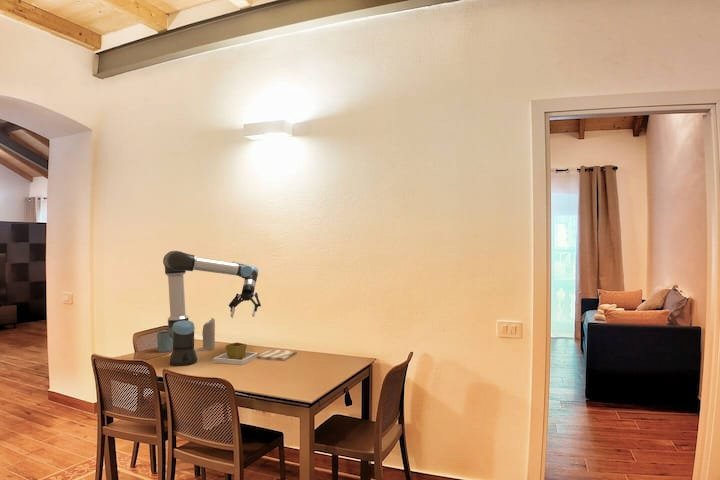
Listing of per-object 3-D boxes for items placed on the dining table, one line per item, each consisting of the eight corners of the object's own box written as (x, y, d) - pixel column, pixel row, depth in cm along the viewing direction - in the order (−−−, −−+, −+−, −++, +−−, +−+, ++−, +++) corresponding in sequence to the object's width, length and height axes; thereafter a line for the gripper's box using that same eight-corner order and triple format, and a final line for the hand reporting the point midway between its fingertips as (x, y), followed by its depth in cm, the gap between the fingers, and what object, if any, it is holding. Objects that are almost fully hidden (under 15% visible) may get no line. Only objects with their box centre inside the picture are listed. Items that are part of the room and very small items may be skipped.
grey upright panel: (192, 349, 290) (192, 318, 290) (214, 347, 294) (214, 317, 294) (191, 351, 283) (191, 320, 283) (214, 350, 287) (214, 319, 288)
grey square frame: (212, 362, 257) (212, 358, 257) (230, 354, 275) (230, 350, 275) (242, 364, 252) (242, 360, 252) (258, 356, 270) (258, 352, 270)
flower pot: (246, 359, 265) (247, 344, 265) (235, 362, 258) (235, 346, 258) (236, 357, 270) (236, 342, 270) (225, 360, 262) (225, 345, 262)
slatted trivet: (257, 358, 266) (257, 356, 266) (270, 351, 283) (270, 349, 283) (284, 360, 261) (284, 358, 261) (296, 353, 278) (296, 351, 278)
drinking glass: (153, 351, 282) (153, 333, 283) (164, 348, 292) (164, 330, 292) (166, 353, 280) (166, 334, 280) (177, 349, 289) (177, 331, 289)
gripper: (269, 290, 288) (263, 318, 274) (232, 292, 291) (225, 320, 277) (265, 283, 282) (260, 312, 268) (228, 285, 285) (220, 313, 271)
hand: (242, 316), depth 272 cm, fingers open, 13 cm apart
